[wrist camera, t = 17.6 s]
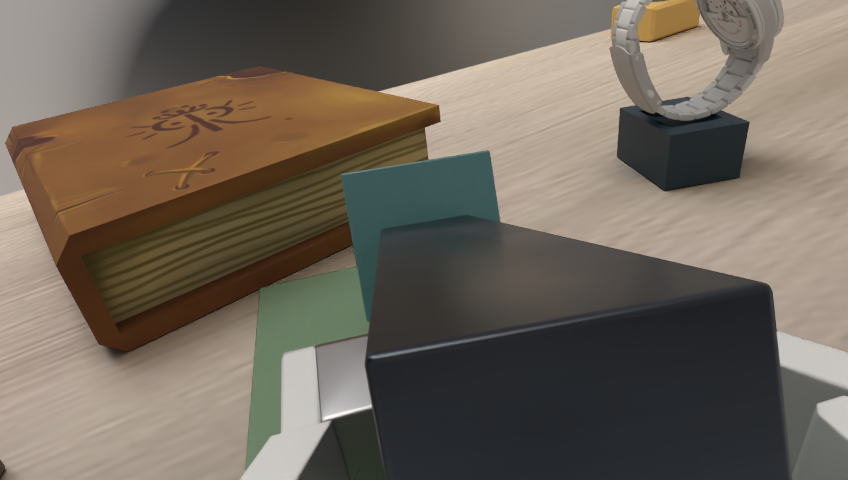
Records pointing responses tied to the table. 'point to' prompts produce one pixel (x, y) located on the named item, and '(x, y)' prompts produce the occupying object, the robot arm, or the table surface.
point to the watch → (701, 115)
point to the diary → (204, 190)
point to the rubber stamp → (664, 18)
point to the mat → (297, 337)
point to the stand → (1, 467)
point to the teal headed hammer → (551, 345)
